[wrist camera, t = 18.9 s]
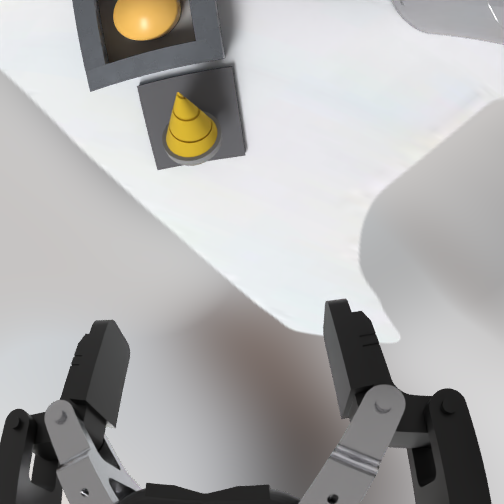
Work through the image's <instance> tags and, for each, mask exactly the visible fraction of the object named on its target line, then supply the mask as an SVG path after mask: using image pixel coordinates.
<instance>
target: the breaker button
mask: <svg viewBox="0 0 504 504" xmlns="http://www.w3.org/2000/svg"><path fill="white" fill-rule="evenodd" d="M180 13H181V6H180V2H179V0H118V1H117V3H116V5H115V8H114V13H113V19H114V24H115V26H116V28H117V30H118V31H119V32H120V33H121V34H122V35H123V36H125V37H127V38H129V39H133V40H154V39H158V38H160V37H162V36H164V35H166V34H167V33H169V32H170V31H171V30H172V29H173V28H174V27H175V25H176V24H177V22H178V20H179V17H180Z"/></svg>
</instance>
